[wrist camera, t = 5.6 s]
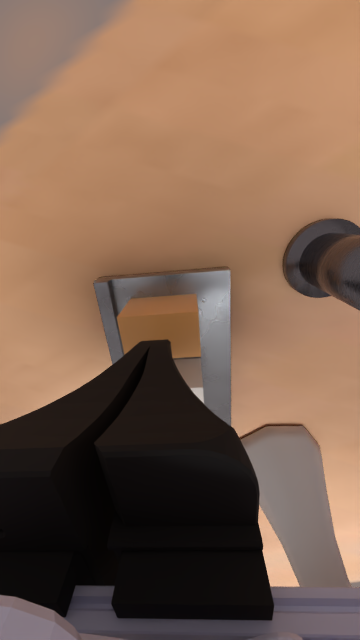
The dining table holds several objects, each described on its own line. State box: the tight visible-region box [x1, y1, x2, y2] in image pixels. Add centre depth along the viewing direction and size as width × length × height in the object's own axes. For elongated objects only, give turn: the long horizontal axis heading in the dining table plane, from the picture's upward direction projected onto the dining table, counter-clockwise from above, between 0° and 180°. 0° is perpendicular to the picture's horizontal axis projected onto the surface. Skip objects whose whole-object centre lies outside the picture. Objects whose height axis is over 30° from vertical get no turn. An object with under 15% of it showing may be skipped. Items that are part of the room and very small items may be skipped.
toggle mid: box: [174, 358, 204, 403], centre depth 15 cm, size 4×2×3 cm, turn 95°
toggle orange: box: [117, 294, 201, 358], centre depth 13 cm, size 4×2×3 cm, turn 95°
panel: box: [93, 267, 231, 426], centre depth 17 cm, size 8×14×2 cm, turn 5°
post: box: [283, 219, 360, 310], centre depth 11 cm, size 4×4×6 cm
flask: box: [241, 426, 351, 587], centre depth 16 cm, size 7×7×10 cm
